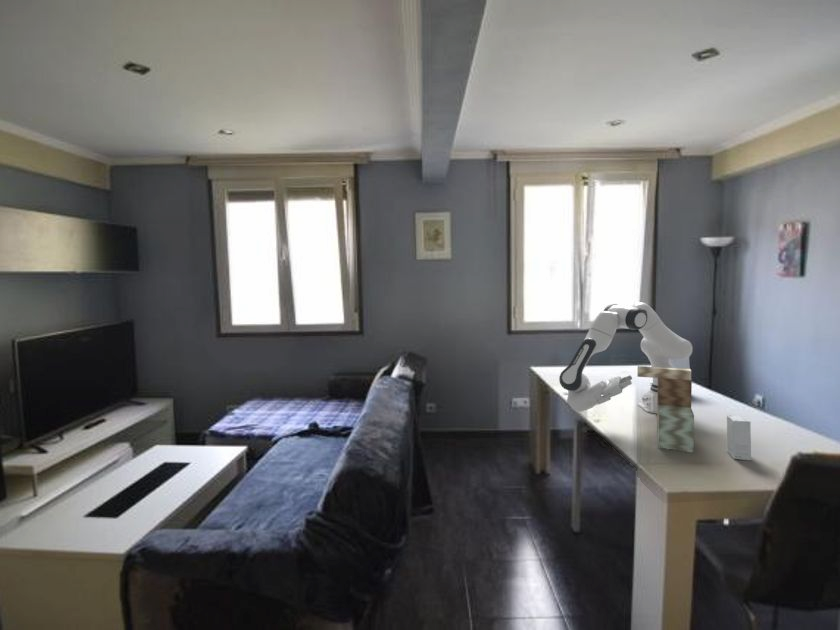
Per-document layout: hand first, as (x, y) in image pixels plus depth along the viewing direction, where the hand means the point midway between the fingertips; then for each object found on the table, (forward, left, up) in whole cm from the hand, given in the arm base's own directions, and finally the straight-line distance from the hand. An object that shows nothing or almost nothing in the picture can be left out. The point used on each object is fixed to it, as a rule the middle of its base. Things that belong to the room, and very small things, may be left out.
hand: (631, 379), depth 193 cm
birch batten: (+6, +11, +2) cm, 13 cm away
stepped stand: (+13, +11, -24) cm, 30 cm away
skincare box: (+30, +26, -24) cm, 46 cm away
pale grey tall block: (-59, +59, -24) cm, 87 cm away
